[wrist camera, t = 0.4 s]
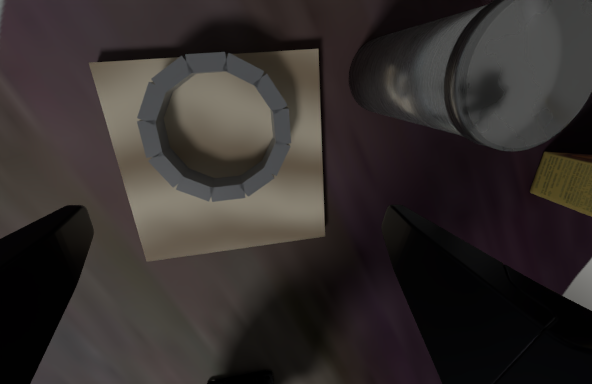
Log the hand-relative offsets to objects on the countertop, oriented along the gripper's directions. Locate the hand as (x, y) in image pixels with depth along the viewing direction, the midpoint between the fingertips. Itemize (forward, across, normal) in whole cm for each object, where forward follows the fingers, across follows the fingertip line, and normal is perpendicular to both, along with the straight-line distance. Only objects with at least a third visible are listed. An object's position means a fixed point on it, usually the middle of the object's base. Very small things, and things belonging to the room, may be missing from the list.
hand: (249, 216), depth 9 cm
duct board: (+13, +1, +5) cm, 14 cm away
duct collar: (+14, +2, +2) cm, 14 cm away
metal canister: (+14, -10, -2) cm, 18 cm away
